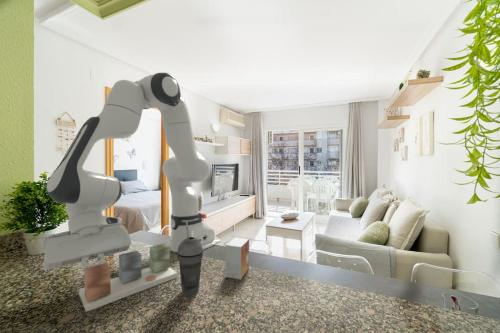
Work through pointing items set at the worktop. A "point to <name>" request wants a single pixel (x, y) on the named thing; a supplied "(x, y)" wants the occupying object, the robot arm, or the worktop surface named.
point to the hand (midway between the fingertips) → (95, 272)
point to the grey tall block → (129, 266)
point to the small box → (236, 258)
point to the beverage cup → (190, 264)
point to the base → (129, 287)
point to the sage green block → (159, 257)
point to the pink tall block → (97, 281)
